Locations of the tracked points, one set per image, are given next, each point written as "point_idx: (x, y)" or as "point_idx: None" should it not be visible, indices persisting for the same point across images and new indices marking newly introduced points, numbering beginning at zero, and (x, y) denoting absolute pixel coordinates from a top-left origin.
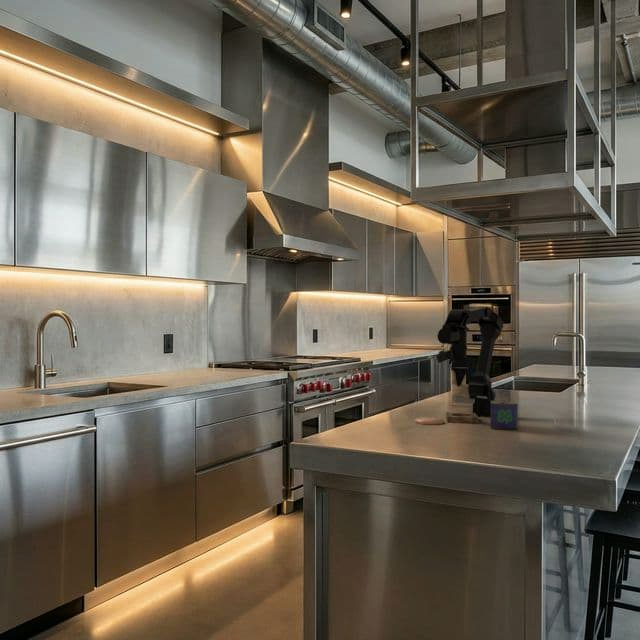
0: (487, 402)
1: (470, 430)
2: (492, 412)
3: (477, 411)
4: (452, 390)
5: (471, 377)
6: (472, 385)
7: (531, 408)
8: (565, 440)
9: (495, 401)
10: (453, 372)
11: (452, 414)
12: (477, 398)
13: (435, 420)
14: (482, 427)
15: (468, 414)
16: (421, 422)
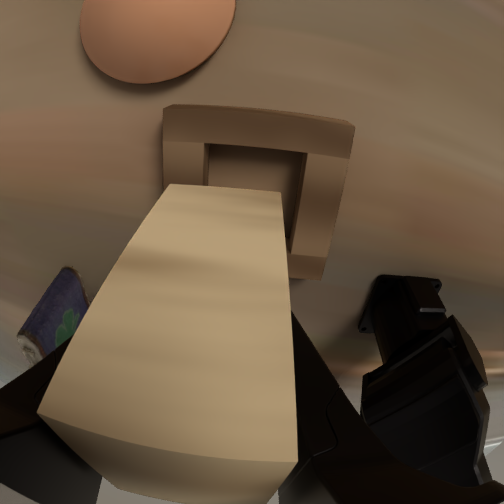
0: (384, 363)
1: (14, 193)
2: (33, 309)
3: (391, 299)
4: (155, 213)
5: (467, 428)
6: (430, 390)
7: None
8: (22, 360)
9: (30, 354)
10: (57, 405)
11: (305, 158)
12: (417, 345)
13: (121, 42)
14: (81, 245)
15: (292, 243)
16: None
